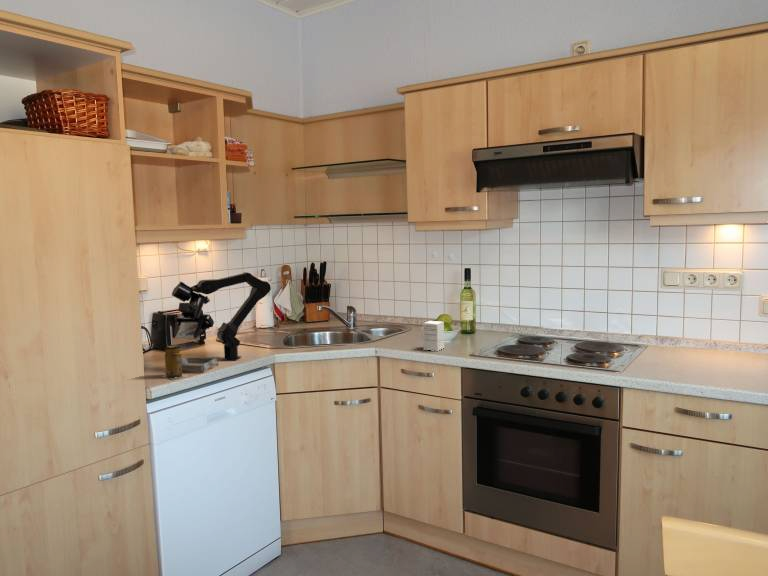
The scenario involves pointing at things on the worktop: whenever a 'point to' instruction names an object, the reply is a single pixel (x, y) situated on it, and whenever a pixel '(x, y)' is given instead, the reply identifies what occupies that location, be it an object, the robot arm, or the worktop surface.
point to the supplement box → (433, 335)
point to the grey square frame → (198, 364)
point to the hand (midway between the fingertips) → (183, 337)
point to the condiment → (173, 362)
